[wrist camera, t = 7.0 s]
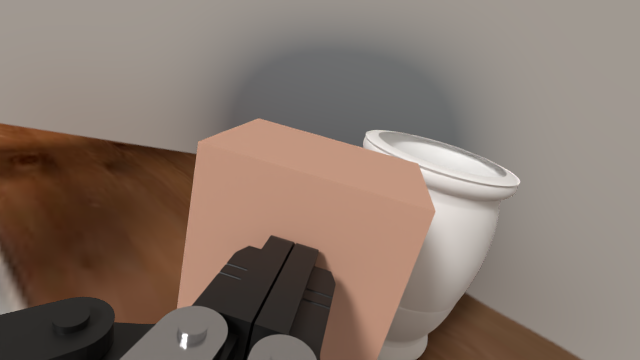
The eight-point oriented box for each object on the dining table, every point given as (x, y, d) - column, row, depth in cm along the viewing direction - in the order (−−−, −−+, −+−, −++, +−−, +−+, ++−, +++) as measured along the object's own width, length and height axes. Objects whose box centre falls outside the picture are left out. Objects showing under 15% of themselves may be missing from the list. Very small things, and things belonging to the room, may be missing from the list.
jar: (424, 412, 22) (528, 200, 17) (289, 328, 26) (341, 134, 21) (446, 319, 31) (517, 164, 26) (344, 267, 35) (389, 123, 30)
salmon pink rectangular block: (310, 527, 14) (435, 211, 9) (156, 467, 15) (198, 141, 10) (328, 412, 19) (418, 163, 14) (212, 370, 19) (258, 118, 14)
